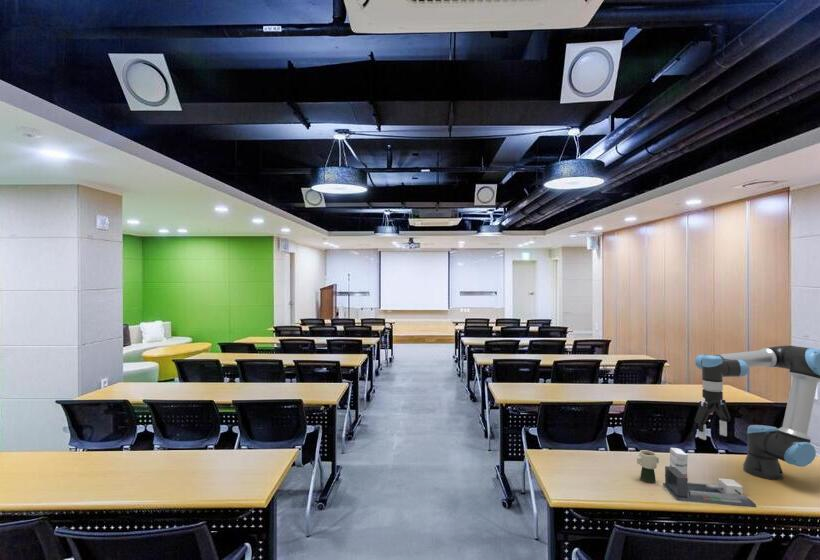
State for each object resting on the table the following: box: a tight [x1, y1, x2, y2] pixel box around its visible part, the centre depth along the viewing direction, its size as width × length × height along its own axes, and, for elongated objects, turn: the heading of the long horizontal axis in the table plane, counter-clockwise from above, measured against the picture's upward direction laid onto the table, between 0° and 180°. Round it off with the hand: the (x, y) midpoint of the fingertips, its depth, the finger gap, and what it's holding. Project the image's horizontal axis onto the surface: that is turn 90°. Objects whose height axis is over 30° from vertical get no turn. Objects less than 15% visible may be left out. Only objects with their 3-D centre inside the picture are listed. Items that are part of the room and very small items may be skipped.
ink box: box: [669, 447, 689, 478], centre depth 204 cm, size 9×5×12 cm, turn 168°
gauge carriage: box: [706, 478, 744, 495], centre depth 181 cm, size 12×11×5 cm
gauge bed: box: [662, 465, 757, 508], centre depth 184 cm, size 30×14×9 cm, turn 81°
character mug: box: [636, 449, 660, 483], centre depth 198 cm, size 11×7×13 cm, turn 97°
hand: (713, 437), depth 191 cm, fingers open, 13 cm apart
